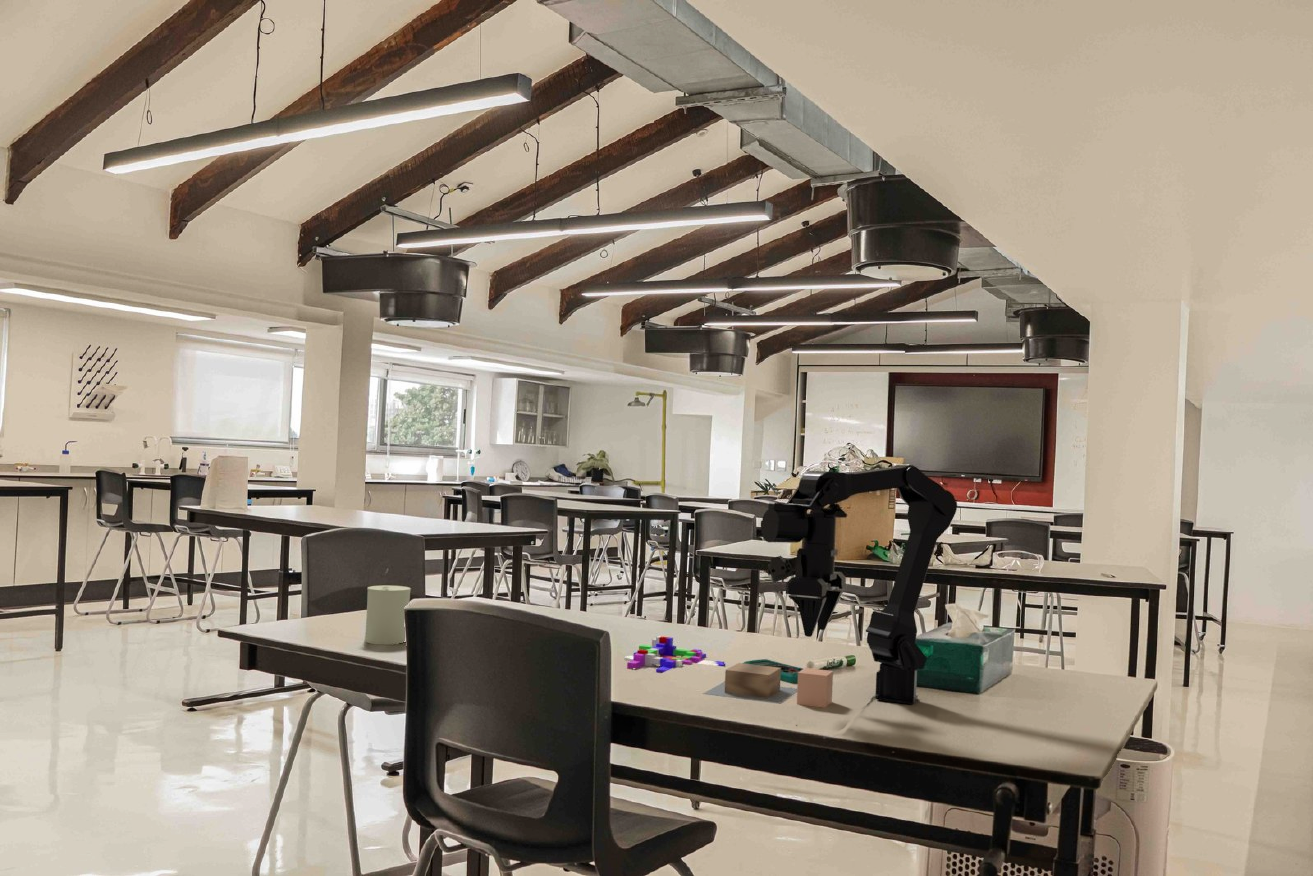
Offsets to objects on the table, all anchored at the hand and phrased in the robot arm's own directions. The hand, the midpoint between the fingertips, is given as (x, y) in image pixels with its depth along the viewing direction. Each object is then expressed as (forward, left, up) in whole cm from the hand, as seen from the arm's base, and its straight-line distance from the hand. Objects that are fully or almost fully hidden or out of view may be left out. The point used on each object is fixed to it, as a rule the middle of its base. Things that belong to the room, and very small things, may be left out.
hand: (815, 633), depth 179 cm
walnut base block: (+12, -3, -12) cm, 17 cm away
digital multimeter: (+12, -21, -13) cm, 27 cm away
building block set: (+35, -25, -13) cm, 44 cm away
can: (+96, -9, -13) cm, 97 cm away
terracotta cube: (0, 0, -13) cm, 13 cm away
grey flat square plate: (+12, -3, -13) cm, 17 cm away
